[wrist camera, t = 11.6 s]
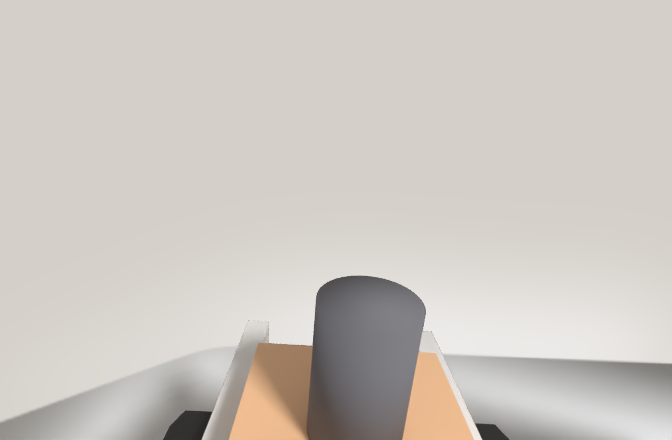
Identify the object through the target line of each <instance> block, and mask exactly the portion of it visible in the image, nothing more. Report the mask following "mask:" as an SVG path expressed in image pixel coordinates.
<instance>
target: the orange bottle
mask: <svg viewBox="0 0 672 440" xmlns="http://www.w3.org/2000/svg"><path fill="white" fill-rule="evenodd" d="M425 315H426V309H425V306H424V304H423V302H422V300H421V299H420V298H419V297H418V296H417V295H416V294H415V293H414V292H412V291H411V290H409V289H408V288H406V287H404V286H402V285H400V284H398V283H395V282H392V281H389V280H386V279H382V278H377V277H370V276H347V277H341V278H337V279H334V280H332V281H329V282H327V283H326V284H324V285H323V286H322V287H321V288H320V289H319V291H318V293H317V296H316V308H315V321H314V335H313V346H305V345H287V344H271V343H258V346H257V349H256V352H255V356H254V359H253V362H252V365H251V369H250V372H249V375H248V378H247V381H246V385H245V388H244V391H243V394H242V398H241V401H240V404H239V407H238V411H237V414H236V417H235V420H234V424H233V427H232V430H231V433H230V437H229V440H474V438H473V436H472V434H471V432H470V429H469V427H468V425H467V423H466V420H465V418H464V416H463V414H462V411H461V409H460V407H459V404H458V402H457V400H456V398H455V395H454V393H453V391H452V389H451V386H450V384H449V382H448V380H447V377H446V375H445V373H444V371H443V368H442V366H441V364H440V362H439V359H438V357H437V355H436V353H426V352H419V347H420V342H421V336H422V331H423V326H424V319H425Z"/></svg>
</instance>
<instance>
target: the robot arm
mask: <svg viewBox="0 0 672 440" xmlns="http://www.w3.org/2000/svg"><path fill="white" fill-rule="evenodd" d="M268 336H269V322H261V321H248V323H247V325H246V328H245V331H244V333H243V335H242V338H241V341H240V343H239V346H238V348H237V351H236V353H235V356H234V358H233V361H232V364H231V366H230V369H229V371H228V374H227V376H226V379H225V381H224V384H223V387H222V389H221V392H220V394H219V397H218V399H217V402H216V405H215V407H214V410H213V412H205V411H185V412H184V413H183V414H182V415H181V416H180V417H179V418H178V419H177V420H176V421H175V422H174V423H173V424H172V425H171V426H170V427H169V429H168V431H167V433H166V435H165V437H164V439H163V440H229V437H230V433H231V430H232V427H233V424H234V420H235V417H236V414H237V411H238V407H239V404H240V401H241V398H242V394H243V391H244V388H245V385H246V381H247V378H248V375H249V372H250V369H251V365H252V362H253V359H254V356H255V352H256V349H257V346H258V343H268ZM419 352H426V353H436V355H437V357H438V359H439V362H440V364H441V366H442V368H443V371H444V373H445V375H446V377H447V380H448V382H449V384H450V386H451V389H452V391H453V393H454V395H455V398H456V400H457V402H458V404H459V407H460V409H461V411H462V414H463V416H464V418H465V420H466V423H467V425H468V427H469V429H470V432H471V434H472V436H473V438H474V440H509V439H508V438H507V437H506V436H505V435H504V434H503V433H502V432H501V431H500V430H499V429H498V427H497V426H496V425H493V424H475V423H474V421H473V419H472V417H471V415H470V412H469V410H468V408H467V406H466V404H465V402H464V400H463V397H462V395H461V393H460V391H459V389H458V387H457V385H456V383H455V380H454V378H453V376H452V374H451V372H450V370H449V368H448V365H447V363H446V361H445V359H444V357H443V355H442V353H441V350H440V348H439V346H438V344H437V342H436V340H435V338H434V335H433V333H432V332H427V331H422V336H421V342H420V347H419Z"/></svg>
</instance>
